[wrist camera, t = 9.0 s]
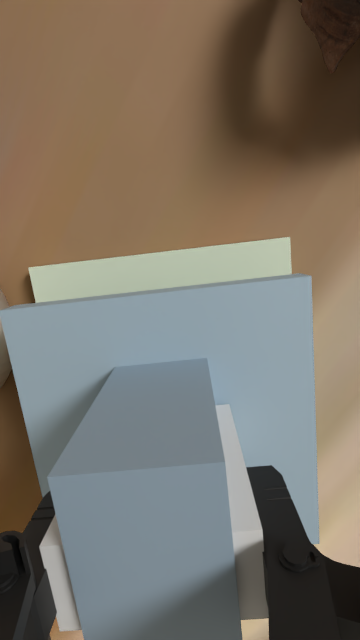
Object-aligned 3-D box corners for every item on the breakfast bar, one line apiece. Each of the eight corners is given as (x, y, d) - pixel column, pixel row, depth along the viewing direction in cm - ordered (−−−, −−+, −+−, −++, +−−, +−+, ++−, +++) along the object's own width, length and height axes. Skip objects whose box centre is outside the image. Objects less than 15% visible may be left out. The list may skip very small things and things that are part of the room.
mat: (36, 266, 19) (28, 267, 18) (284, 237, 18) (289, 237, 17) (85, 505, 22) (80, 517, 21) (296, 488, 21) (301, 500, 20)
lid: (15, 305, 15) (-188, 371, 7) (299, 273, 15) (444, 305, 6) (67, 538, 18) (-35, 785, 10) (308, 520, 17) (418, 766, 9)
